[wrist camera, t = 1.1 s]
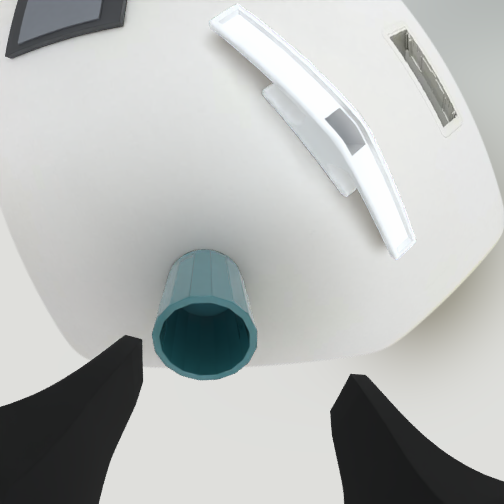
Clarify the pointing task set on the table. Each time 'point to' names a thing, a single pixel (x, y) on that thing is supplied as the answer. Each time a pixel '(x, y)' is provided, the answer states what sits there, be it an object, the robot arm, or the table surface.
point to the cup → (205, 318)
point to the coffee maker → (59, 21)
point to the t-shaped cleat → (322, 122)
